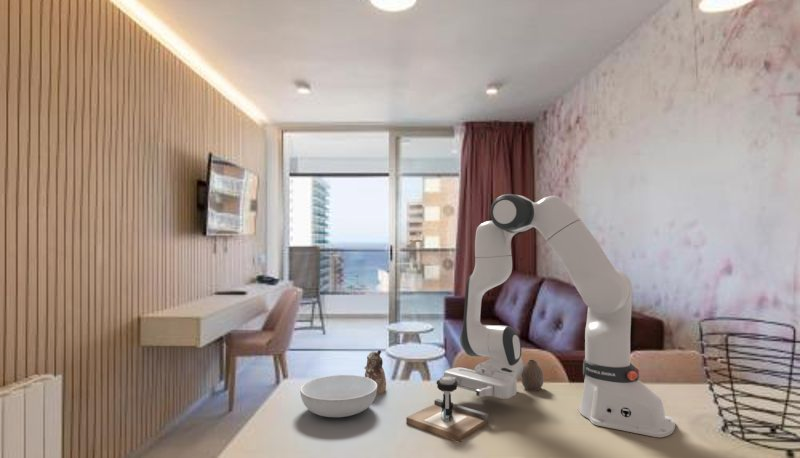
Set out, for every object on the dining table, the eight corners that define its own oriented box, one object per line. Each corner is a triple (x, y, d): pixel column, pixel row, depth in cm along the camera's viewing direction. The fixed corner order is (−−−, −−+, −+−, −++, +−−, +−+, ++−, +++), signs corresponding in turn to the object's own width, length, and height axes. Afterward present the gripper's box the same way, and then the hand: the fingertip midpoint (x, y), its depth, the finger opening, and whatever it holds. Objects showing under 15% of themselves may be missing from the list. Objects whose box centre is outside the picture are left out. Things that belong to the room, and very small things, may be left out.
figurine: (358, 389, 138) (358, 351, 138) (376, 384, 142) (376, 347, 143) (372, 396, 132) (373, 355, 133) (390, 390, 137) (390, 351, 137)
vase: (546, 387, 141) (546, 359, 141) (540, 394, 135) (540, 365, 135) (524, 383, 144) (524, 356, 144) (518, 389, 138) (518, 361, 139)
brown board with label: (488, 423, 113) (488, 414, 113) (459, 442, 103) (459, 431, 103) (437, 407, 123) (437, 398, 124) (406, 423, 113) (406, 413, 113)
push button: (458, 424, 109) (458, 383, 109) (436, 423, 109) (436, 383, 109) (457, 414, 115) (457, 375, 116) (436, 413, 116) (436, 374, 116)
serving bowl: (365, 393, 135) (365, 371, 135) (387, 420, 115) (387, 394, 115) (295, 402, 128) (295, 378, 128) (305, 432, 108) (305, 404, 108)
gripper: (458, 359, 136) (431, 369, 125) (521, 373, 122) (496, 385, 112) (458, 380, 136) (431, 392, 125) (521, 396, 122) (496, 411, 112)
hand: (463, 389), depth 118 cm, fingers open, 8 cm apart
